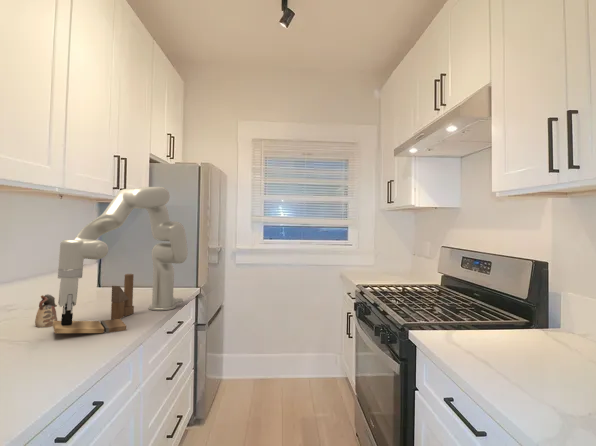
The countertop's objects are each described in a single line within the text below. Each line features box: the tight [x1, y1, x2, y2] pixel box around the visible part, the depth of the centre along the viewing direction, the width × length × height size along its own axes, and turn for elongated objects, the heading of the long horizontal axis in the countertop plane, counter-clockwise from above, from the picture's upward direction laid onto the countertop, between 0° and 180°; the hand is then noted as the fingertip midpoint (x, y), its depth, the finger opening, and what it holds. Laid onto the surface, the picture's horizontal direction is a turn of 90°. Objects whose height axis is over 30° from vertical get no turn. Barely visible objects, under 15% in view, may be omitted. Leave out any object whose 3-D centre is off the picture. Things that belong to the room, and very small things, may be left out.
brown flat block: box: [99, 318, 127, 334], centre depth 135 cm, size 7×12×2 cm, turn 38°
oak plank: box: [52, 320, 105, 334], centre depth 128 cm, size 15×12×2 cm
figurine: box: [34, 293, 58, 328], centre depth 136 cm, size 7×7×12 cm
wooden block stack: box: [110, 273, 135, 320], centre depth 152 cm, size 4×11×18 cm, turn 172°
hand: (66, 324), depth 125 cm, fingers closed
